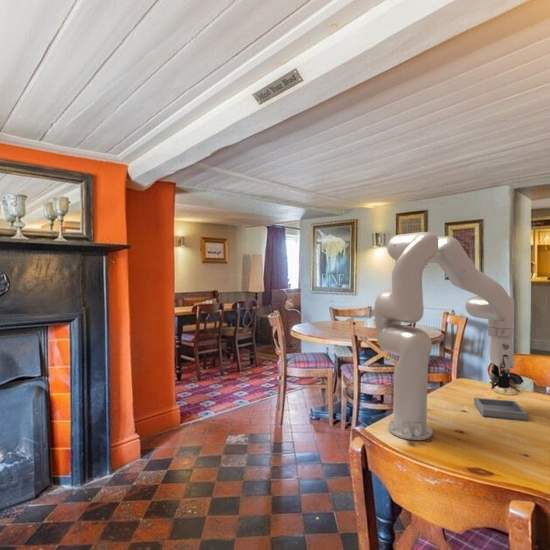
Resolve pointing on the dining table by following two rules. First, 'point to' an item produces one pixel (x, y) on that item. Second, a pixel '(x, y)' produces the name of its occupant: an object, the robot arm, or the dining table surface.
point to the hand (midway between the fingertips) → (500, 383)
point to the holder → (500, 409)
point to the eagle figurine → (512, 380)
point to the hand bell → (501, 391)
